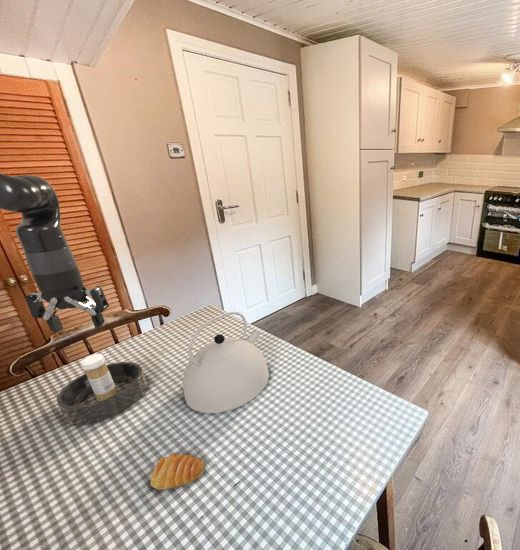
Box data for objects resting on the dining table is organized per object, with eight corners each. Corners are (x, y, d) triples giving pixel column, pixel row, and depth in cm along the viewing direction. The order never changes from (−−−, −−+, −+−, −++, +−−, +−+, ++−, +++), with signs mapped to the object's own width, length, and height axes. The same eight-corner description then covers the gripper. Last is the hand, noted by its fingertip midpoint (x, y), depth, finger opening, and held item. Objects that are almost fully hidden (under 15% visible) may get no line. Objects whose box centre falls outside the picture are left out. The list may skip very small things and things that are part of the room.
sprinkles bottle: (114, 390, 86) (98, 351, 81) (122, 396, 84) (106, 356, 79) (94, 401, 83) (76, 360, 77) (102, 407, 80) (84, 366, 75)
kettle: (240, 349, 105) (228, 290, 97) (290, 369, 95) (282, 305, 87) (167, 396, 85) (145, 327, 76) (222, 428, 75) (203, 353, 66)
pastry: (210, 458, 67) (206, 446, 66) (197, 490, 61) (192, 477, 60) (166, 462, 67) (161, 450, 65) (148, 494, 60) (142, 481, 59)
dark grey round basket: (48, 433, 74) (38, 414, 71) (90, 383, 89) (83, 367, 87) (131, 418, 78) (124, 400, 75) (157, 373, 93) (151, 357, 91)
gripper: (100, 259, 74) (120, 318, 80) (28, 264, 71) (55, 324, 77) (81, 270, 67) (104, 333, 73) (1, 276, 64) (33, 341, 70)
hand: (79, 328), depth 75 cm, fingers open, 8 cm apart
